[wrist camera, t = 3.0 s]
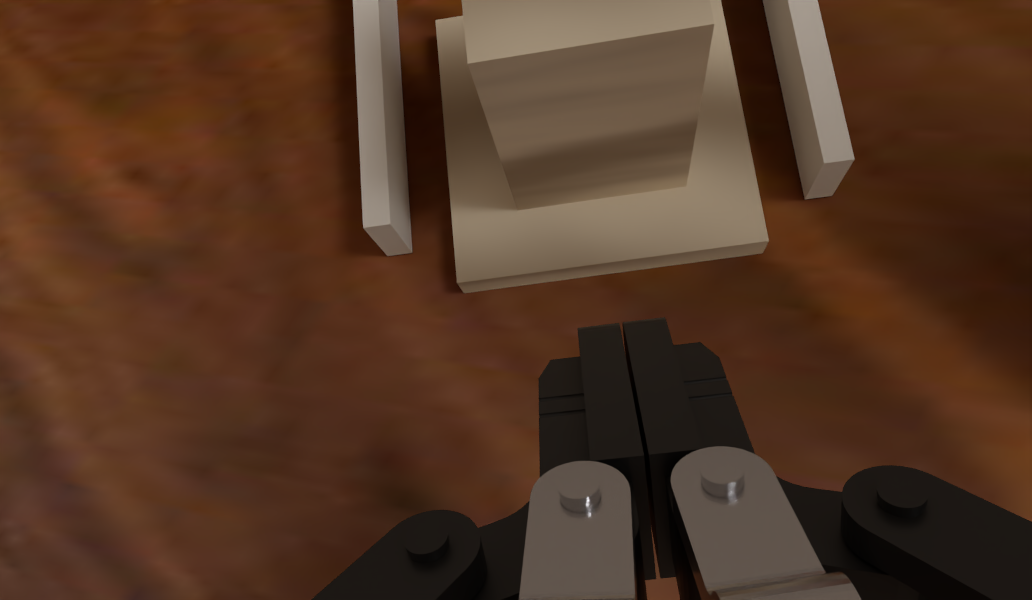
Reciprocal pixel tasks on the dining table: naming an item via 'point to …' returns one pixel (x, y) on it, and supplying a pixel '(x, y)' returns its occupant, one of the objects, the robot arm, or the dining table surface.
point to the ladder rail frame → (383, 129)
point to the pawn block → (593, 139)
